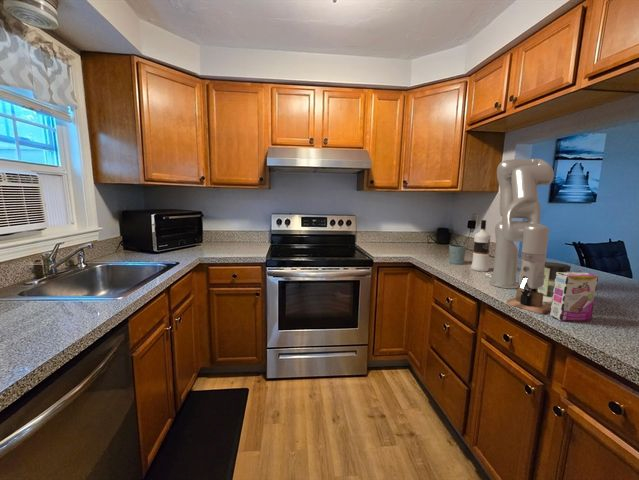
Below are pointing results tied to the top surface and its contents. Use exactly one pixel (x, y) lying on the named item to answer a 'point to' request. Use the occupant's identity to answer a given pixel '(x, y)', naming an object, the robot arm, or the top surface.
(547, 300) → the block
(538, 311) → the plate with tan block
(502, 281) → the robot arm
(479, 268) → the vodka
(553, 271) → the coffee can
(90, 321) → the top surface
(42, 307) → the top surface
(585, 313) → the candy bar box
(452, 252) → the light blue cup
